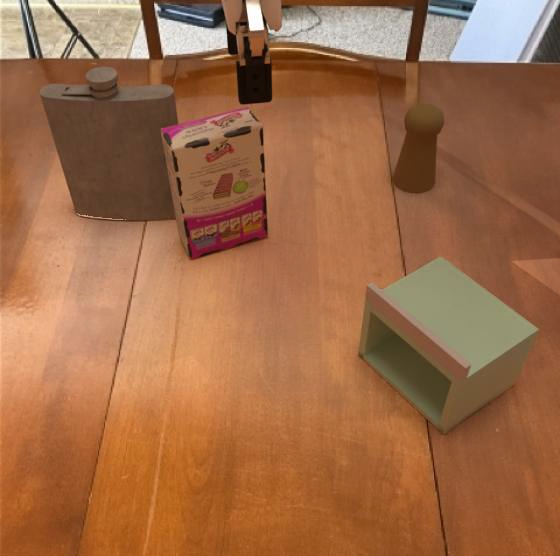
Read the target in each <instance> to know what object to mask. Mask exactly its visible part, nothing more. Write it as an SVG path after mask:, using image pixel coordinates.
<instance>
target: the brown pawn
mask: <svg viewBox="0 0 560 556" xmlns="http://www.w3.org/2000/svg"><path fill="white" fill-rule="evenodd" d="M403 124H404V130H405V131H406V133H405V135H404V139H403V142H402V145H401V148H400V153H399V155H398V159H397V163H396V165H395V169H394V173H393V175H392V182H393V184H394V186H395V187H397V188H398V189H399V190H400V191H403V192H407V193H411V194H421V193H426V192H428V191H430V190H431V189H433V188H434V186H435V184H436V171H437V151H438V150H437V149H438V148H437V146H438V135H440V134H441V132H442V129H443V128H444V124H445V117H444V113H443V111H442V110H441V108H439V107H438V106H436V105H433V104H430V103H418V104H417V103H416V104H415V105H412V106H411V107H410V108H409V109H408V110H407V111H406V113H405V116H404V119H403Z"/></svg>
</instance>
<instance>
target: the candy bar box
mask: <svg viewBox="0 0 560 556" xmlns="http://www.w3.org/2000/svg"><path fill="white" fill-rule="evenodd" d="M160 130H161V136H162V142H163V147H164V152H165V158H166V164H167V170H168V176H169V181H170V187H171V193H172V199H173V204H174V210H175V215H176V219H175V220H176V221H175V222H176V225H177V232H178V237H179V240H180V242H181V244H182V246H183V248H184V249H185V251H186V254H187V255H188V257H189V259H190V260H196V259H199V258H202V257H206V256H209V255H212V254H215V253H219V252H222V251H225V250H228V249H232V248H235V247H238V246H242V245H244V244H248V243H251V242H254V241H257V240H260V239H264V238H268V237H269V228H268V226H269V225H268V205H267V203H268V202H267V187H266V185H267V184H266V161H265V146H264V145H265V144H264V142H265V140H264V125H263V124H262V122H261V121H260V120H259V119H258V118H257V117H256V116H255V114H254V113H253V112H252V109H250V107H249V106H244V107H239V108H236V109H232V110H228V111H225V112H221V113H217V114H212V115H208V116H205V117H201V118H197V119H194V120H190V121H186V122H182V123H178V125H174V126H170V127H166V128H162V129H160Z"/></svg>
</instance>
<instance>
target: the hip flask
mask: <svg viewBox="0 0 560 556" xmlns="http://www.w3.org/2000/svg"><path fill="white" fill-rule="evenodd" d="M85 81H86V84H65V83H50V84H47V85H44V86H43V87H41V88H40V90H39V95H40V99H41V102H42V106H43V109H44V112H45V115H46V120H47V122H48V126H49V129H50V132H51V135H52V139H53V142H54V143H53V144H54V146H55V149H56V152H57V155H58V159H59V162H60V165H61V169H62V173H63V175H64V179H65V181H66V182H65V183H66V185H67V189H68V192H69V196H70V199H71V202H72V206H73V209H74V212H75V211H76V212H75V214H76V213H78V214H80V215H86V216H87V215H88V216H93V217H102V218H112V219H123V220H125V219H126V220H146V221H145V222H150V221H149V220H153V221H152V222H155V221H154V220H158V221H170V220H176V215H175V210H174V204H173V199H172V193H171V187H170V181H169V176H168V170H167V164H166V158H165V152H164V147H163V142H162V136H161V130H160V129H162V128H166V127H170V126H174V125H178V124H179V118H178V112H177V104H176V97H175V89H174V88H173V86H171V85H169V84H165V83H164V84H162V83H160V84H150V85H138V86H137V85H136V86H118V82H119V76H118V71H117V70H116V69H115V68H113V67H110V66H99V67H94V68H91V69H90V70H88V71H87V72H86V73H85ZM168 219H169V220H168ZM147 220H148V221H147Z"/></svg>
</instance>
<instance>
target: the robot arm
mask: <svg viewBox="0 0 560 556" xmlns="http://www.w3.org/2000/svg"><path fill="white" fill-rule="evenodd" d="M221 5H222V9H223V13H224V17H225V29H226V30H225V32H226V44H227V52H228V55H230V56H238V60H236V61H235V67H236V68H235V69H236V83H237V98H238V103H239V105H242V106H243V105H254V104H255V105H256V104H267V103H271V102H272V101H273V76H272V75H273V67H272V65H273V64H272V62H273V61H272V58H271V53H270V52H271V51H270V44H269V33H268V29H269V31H274V32H275V33H277V32H280V31H281V30H282V26H283V15H282V0H221Z"/></svg>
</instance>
